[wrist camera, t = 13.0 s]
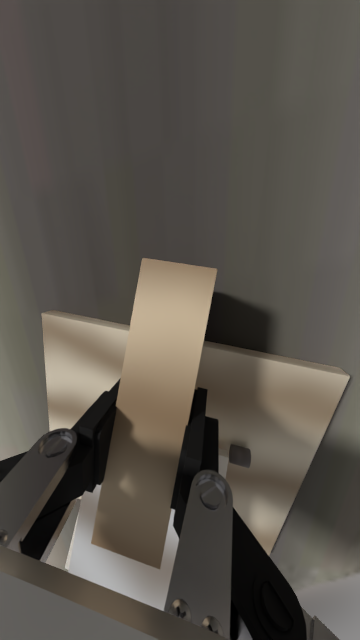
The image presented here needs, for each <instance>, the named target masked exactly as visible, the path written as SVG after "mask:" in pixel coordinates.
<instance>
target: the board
mask: <svg viewBox="0 0 360 640" xmlns="http://www.w3.org/2000/svg"><path fill="white" fill-rule="evenodd" d="M42 325H43V339H44V354H45V368H46V383H47V397H48V412H49V426H50V431H52V430H55V429H60V428H68V429H71V428H72V427H73V426H74V425H75V423H76V422H77V421H78V420H79V419H80V418H81V417H82V416H83V414H84V413H85V412H86V411H87V410H88V409H89V408H90V407H91V405H92V404H93V403H94V402H95V401H96V400H97V399H98V398H99V396H100V395H101V394H102V393H103V392H104V391H110V389H111V388H112V387H113V386H114V385H115V384H116V382H117V381H118V380H119V379H120V378H121V374H122V368H123V363H124V357H125V352H126V346H127V340H128V335H129V329H130V326H129V325H124V324H119V323H114V322H110V321H105V320H100V319H95V318H90V317H85V316H80V315H75V314H70V313H65V312H60V311H55V310H52V311H48V312H44V313H42ZM349 378H350V376H349V375H348V374H347V373H346V372H344V371H343V370H342V369H341V368H338V367H334V366H329V365H324V364H319V363H314V362H309V361H304V360H299V359H294V358H289V357H284V356H279V355H274V354H269V353H264V352H259V351H254V350H249V349H244V348H239V347H234V346H229V345H224V344H219V343H214V342H209V341H204V342H203V347H202V352H201V358H200V363H199V368H198V373H197V378H196V384H195V389H196V390H197V387H200V388H204V389H208V391H207V402H206V414H205V416H207V417H211V418H215V419H218V421H219V448H220V449H224V450H227V453H228V457H229V460H228V466H227V472H226V481H227V482H228V484H229V485H230V488H231V491H232V495H233V507H234V509H235V510H236V511H237V513H238V514H239V516H240V517H241V518H242V520H243V521H244V523H245V524H246V525H247V527H248V528H249V529H250V531H251V532H252V534H253V535H254V536H255V538H256V539H257V540H258V542H259V543H260V545H261V546H262V547H263V549H264V550H265V551H266V553H267V554H268V556H269V554H270V552H271V550H272V548H273V546H274V543H275V541H276V539H277V537H278V535H279V532H280V530H281V528H282V526H283V524H284V521H285V519H286V517H287V515H288V513H289V510H290V508H291V506H292V504H293V502H294V499H295V497H296V495H297V493H298V491H299V488H300V486H301V484H302V482H303V480H304V477H305V475H306V473H307V471H308V469H309V466H310V464H311V462H312V460H313V457H314V455H315V453H316V451H317V449H318V446H319V444H320V442H321V440H322V438H323V435H324V433H325V431H326V429H327V427H328V424H329V422H330V420H331V418H332V416H333V413H334V411H335V409H336V407H337V405H338V402H339V400H340V398H341V396H342V394H343V391H344V389H345V387H346V385H347V383H348V380H349ZM81 497H82V496H80V497H78V498H79V499H81Z"/></svg>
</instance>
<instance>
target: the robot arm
mask: <svg viewBox="0 0 360 640" xmlns="http://www.w3.org/2000/svg"><path fill="white" fill-rule="evenodd" d="M120 379H121V378H120ZM120 379H119V380H118V381H117V382H116V384H115V385H114V386H113V387H112V388H111V389H110V391H104V392H103V393H102V394H101V395H100V396H99V398H98V399H97V400H96V401H95V402H94V403H93V404H92V405H91V407H90V408H89V409H88V410H87V411H86V412H85V413H84V414H83V416H82V417H81V418H80V419H79V420H78V421H77V422H76V423H75V425H74V426H73V427H72V428H71V429H68V428H60V429H55V430H52V431H50V432H48V433H46V434H45V435H43V436H42V437H41V438H40V439H39V440H38V441H37V442H36V443H35V444H34V445H33V446H32V448H31V449H30V450H29V451H27V452H24V453H22V454H19V455H16V456H13V457H10V458H8V459H5V460H2V461H0V640H339V639H338V638H337V637H336V636H335V635H334V634H333V633H332V632H331V631H330V630H329V629H328V628H327V627H326V626H325V625H324V624H323V623H322V622H321V621H320V620H319V619H318V618H317V617H316V616H314V617H313V618H311V616H310V615H309V614H308V613H307V612H306V611H305V610H304V609H303V608H302V607H301V606H300V604H299V601H298V599H297V596H296V595H295V593H294V591H293V590H292V588H291V586H290V585H289V583H288V582H287V580H286V579H285V578H284V576H283V575H282V574H281V572H280V571H279V569H278V568H277V567H276V565H275V564H274V563H273V561H272V560H271V558H270V557H269V556H268V554H267V553H266V551H265V550H264V549H263V547H262V546H261V545H260V543H259V542H258V540H257V539H256V538H255V536H254V535H253V534H252V532H251V531H250V529H249V528H248V527H247V525H246V524H245V523H244V521H243V520H242V518H241V517H240V516H239V514H238V513H237V511H236V510H235V509H234V507H233V495H232V491H231V488H230V485H229V484H228V482H227V481H226V479H225V478H224V477H223V476H221V475H220V474H219V421H218V419H215V418H211V417H207V416H205V414H206V402H207V391H208V389H204V388H200V387H197V390H196V389H194V394H193V399H192V405H191V410H190V415H189V420H188V426H187V425H186V427H185V432H184V437H183V442H182V447H181V452H180V458H179V463H178V468H177V474H176V479H175V484H174V490H173V495H172V500H171V506H170V508H171V509H174V510H175V513H174V519H173V520H174V521H173V527H174V529H175V531H176V533H177V535H178V538H179V542H178V547H177V551H176V556H175V561H174V565H173V570H172V574H171V579H170V584H169V588H168V593H167V597H166V602H165V607H164V611H162V610H159V609H157V608H155V607H152V606H150V605H147V604H145V603H142V602H140V601H137V600H135V599H133V598H130V597H128V596H125V595H123V594H120V593H118V592H116V591H113V590H111V589H108V588H106V587H103V586H101V585H98V584H96V583H93V582H91V581H88V580H86V579H83V578H81V577H78V576H76V575H73V574H71V573H69V572H66V571H64V570H61V569H59V568H56V567H54V566H51V565H49V564H46V563H45V562H46V560H47V558H48V556H49V554H50V552H51V550H52V548H53V546H54V544H55V542H56V540H57V538H58V537H59V535H60V533H61V531H62V529H63V527H64V525H65V523H66V521H67V519H68V517H69V515H70V513H71V511H72V509H73V507H74V505H75V503H76V500H77V498H78V497H80V496H82V495H83V494H84V492H85V491H87V492H90V493H93V491H94V489H95V487H96V485H101V484H102V482H103V480H104V476H105V471H106V465H107V460H108V454H109V449H110V443H111V438H112V432H113V426H114V421H115V415H116V410H117V407H116V401H117V396H118V390H119V385H120Z"/></svg>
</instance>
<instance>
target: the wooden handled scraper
mask: <svg viewBox="0 0 360 640" xmlns="http://www.w3.org/2000/svg"><path fill="white" fill-rule="evenodd" d="M216 274H217V269H214V268H207V267H200V266H194V265H187V264H181V263H174V262H167V261H161V260H154V259H147V258H142V263H141V268H140V274H139V279H138V285H137V291H136V296H135V302H134V307H133V313H132V318H131V324H130V329H129V335H128V340H127V346H126V352H125V357H124V363H123V368H122V374H121V379H120V385H119V390H118V396H117V401H116V407H117V410H116V415H115V421H114V426H113V432H112V438H111V443H110V449H109V454H108V460H107V465H106V471H105V476H104V480H103V482H102V484H101V485H96V487H95V489H94V491H93V493H90V492H87V491H85V492H84V494H83V495H82V497H81V503H80V509H79V514H78V520H77V526H76V531H75V537H74V542H73V548H72V554H71V559H70V565H69V571H68V572H69V573H71V574H73V575H76V576H78V577H81V578H83V579H86V580H88V581H91V582H93V583H96V584H98V585H101V586H103V587H106V588H108V589H111V590H113V591H116V592H118V593H120V594H123V595H125V596H128V597H130V598H133V599H135V600H137V601H140V602H142V603H145V604H147V605H150V606H152V607H155V608H157V609H159V610H162V611H164V607H165V602H166V597H167V593H168V588H169V584H170V579H171V574H172V570H173V565H174V561H175V556H176V551H177V547H178V542H179V538H178V535H177V533H176V531H175V529H174V527H173V521H174V520H173V519H174V513H175V510H174V509H171V508H170V506H171V500H172V495H173V490H174V484H175V479H176V474H177V468H178V463H179V458H180V452H181V447H182V442H183V437H184V432H185V427H186V425H187V426H188V420H189V415H190V410H191V405H192V399H193V394H194V389H195V384H196V378H197V373H198V368H199V363H200V358H201V352H202V347H203V342H204V337H205V331H206V326H207V321H208V316H209V310H210V305H211V300H212V295H213V289H214V284H215V279H216Z"/></svg>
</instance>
